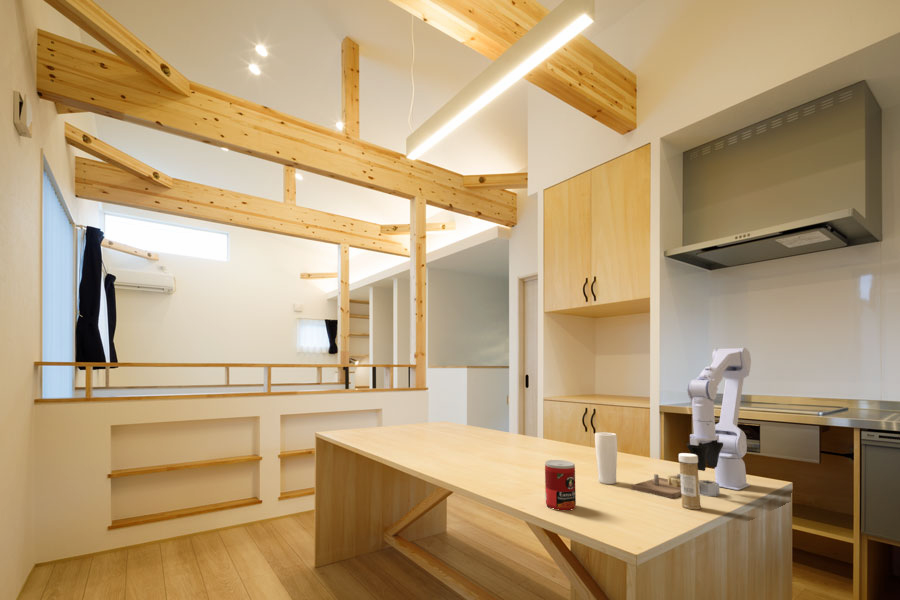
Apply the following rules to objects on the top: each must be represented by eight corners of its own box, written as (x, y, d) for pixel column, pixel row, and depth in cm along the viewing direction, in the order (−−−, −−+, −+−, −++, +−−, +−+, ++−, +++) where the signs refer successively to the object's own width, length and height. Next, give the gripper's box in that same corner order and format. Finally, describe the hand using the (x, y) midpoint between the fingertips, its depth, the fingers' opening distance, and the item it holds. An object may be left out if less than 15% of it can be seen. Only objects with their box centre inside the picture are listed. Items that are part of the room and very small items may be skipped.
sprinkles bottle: (704, 508, 120) (701, 454, 122) (695, 511, 117) (691, 456, 119) (687, 503, 124) (684, 452, 125) (677, 506, 121) (674, 453, 123)
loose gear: (703, 490, 137) (702, 479, 138) (722, 494, 133) (721, 482, 134) (695, 493, 134) (694, 481, 134) (714, 497, 130) (713, 485, 130)
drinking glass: (621, 481, 146) (619, 433, 148) (616, 486, 141) (614, 435, 143) (599, 478, 150) (597, 431, 152) (593, 483, 144) (592, 434, 146)
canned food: (559, 512, 115) (558, 467, 117) (539, 504, 122) (538, 461, 124) (582, 508, 119) (581, 464, 120) (561, 500, 126) (560, 458, 127)
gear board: (659, 481, 148) (658, 467, 148) (698, 489, 138) (697, 474, 139) (632, 489, 138) (631, 474, 138) (672, 498, 128) (671, 482, 129)
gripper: (700, 418, 144) (703, 463, 142) (678, 420, 135) (681, 469, 133) (725, 420, 138) (728, 467, 137) (703, 423, 130) (706, 473, 128)
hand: (706, 468), depth 134 cm, fingers open, 7 cm apart
